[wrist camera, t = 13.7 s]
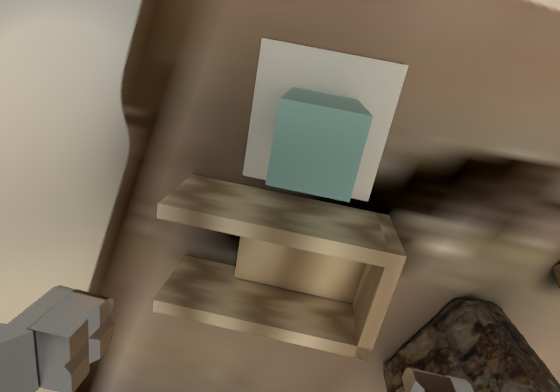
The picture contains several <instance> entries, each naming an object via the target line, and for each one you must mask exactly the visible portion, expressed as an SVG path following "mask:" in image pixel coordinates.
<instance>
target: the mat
mask: <svg viewBox="0 0 560 392" xmlns="http://www.w3.org/2000/svg"><path fill="white" fill-rule="evenodd" d="M408 66H409V65H404V64H399V63H393V62H388V61H383V60H377V59H372V58H367V57H361V56H356V55H351V54H345V53H340V52H335V51H329V50H324V49H319V48H314V47H308V46H303V45H298V44H292V43H287V42H282V41H276V40H271V39H266V38H262V40H261V47H260V54H259V62H258V69H257V76H256V83H255V90H254V97H253V104H252V111H251V118H250V125H249V132H248V140H247V147H246V154H245V161H244V168H243V176H248V177H252V178H257V179H262V180H266V177H267V171H268V165H269V159H270V153H271V147H272V142H273V136H274V130H275V124H276V118H277V112H278V106H279V100H280V97H282V96H283V95H284V94H286V93H287V92H288V91H289V90H291V89H292V88H293V87H296V88H301V89H306V90H312V91H317V92H322V93H327V94H332V95H337V96H342V97H348V98H353V99H358V100H359V102H360V103H361V104H362V105H363V106H364V107H365V108H366V109H367V110H368V111H369V112H370V113H371V114H372V116H373V119H372V122H371V126H370V129H369V133H368V137H367V140H366V144H365V148H364V151H363V155H362V158H361V162H360V166H359V169H358V173H357V177H356V180H355V184H354V187H353V191H352V195H351V198H354V199H358V200H363V201H368V200H369V197H370V193H371V190H372V187H373V183H374V180H375V176H376V173H377V170H378V166H379V163H380V160H381V156H382V153H383V150H384V146H385V143H386V140H387V136H388V133H389V130H390V126H391V123H392V119H393V116H394V113H395V109H396V106H397V103H398V99H399V96H400V93H401V89H402V86H403V83H404V79H405V76H406V73H407V69H408Z"/></svg>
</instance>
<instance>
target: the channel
mask: <svg viewBox="0 0 560 392" xmlns="http://www.w3.org/2000/svg"><path fill="white" fill-rule="evenodd" d="M157 218H159V219H163V220H168V221H172V222H177V223H182V224H186V225H191V226H196V227H200V228H205V229H209V230H214V231H219V232H223V233H228V234H233V235H237V236H240V242H239V248H238V255H237V262H236V266H233V265H228V264H224V263H219V262H215V261H210V260H205V259H201V258H196V257H192V256H187V255H185V257H184V258H183V259H182V261H181V262H180V264H179V265H178V266H177V268H176V269H175V270H174V272H173V273H172V275H171V276H170V277H169V279H168V280H167V282H166V283H165V284H164V286H163V287H162V288H161V290H160V291H159V293H158V294H157V295H156V297H155V298H154V300H153V312H158V313H162V314H166V315H171V316H175V317H180V318H184V319H188V320H193V321H197V322H201V323H206V324H210V325H214V326H219V327H223V328H227V329H232V330H236V331H241V332H245V333H249V334H254V335H258V336H262V337H267V338H271V339H275V340H280V341H284V342H288V343H293V344H297V345H301V346H306V347H310V348H315V349H319V350H323V351H328V352H332V353H336V354H341V355H345V356H349V357H354V358H358V359H362V360H367V361H368V360H369V358H370V355H371V352H372V350H373V347H374V344H375V341H376V339H377V336H378V333H379V331H380V328H381V325H382V323H383V320H384V317H385V314H386V312H387V309H388V306H389V304H390V301H391V298H392V296H393V293H394V290H395V287H396V285H397V282H398V279H399V277H400V274H401V271H402V269H403V266H404V263H405V260H406V258H407V256H406V254H405V251H404V249H403V247H402V244H401V242H400V240H399V237H398V235H397V233H396V230H395V228H394V226H393V223H392V221H391V219H390V216H389V215H386V214H381V213H376V212H371V211H367V210H362V209H357V208H352V207H347V206H343V205H338V204H333V203H328V202H324V201H319V200H314V199H309V198H304V197H300V196H295V195H290V194H285V193H280V192H276V191H271V190H266V189H261V188H257V187H252V186H247V185H242V184H237V183H233V182H228V181H223V180H218V179H213V178H209V177H204V176H199V175H194V174H192V175H190V176H189V177H188V178H187V179H186V180H185V181H183V182H182V183H181V184H180V185H179V186H177V187H176V188H175V189H174V190H173V191H171V192H170V193H169V194H168V195H167V196H165V197H164V198H163V199H162V200H161V201H160V202H158V203H157Z"/></svg>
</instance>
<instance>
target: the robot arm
mask: <svg viewBox="0 0 560 392" xmlns="http://www.w3.org/2000/svg"><path fill="white" fill-rule="evenodd" d="M113 311H114V300H112V299H111V298H108V297H104V296H101V295H97V294H93V293H89V292H85V291H81V290H75V289H72V288H68V287H64V286H56V287H53V288H52V289H51V290H50V291H48V292H47V293H46V294H45V295H43V296H42V297H41V298H39V299H38V300H37V301H36V302H34V303H33V304H32V305H31V306H29V307H28V308H27V309H26V310H24V311H23V312H22V313H21V314H19V315H18V316H17V317H16V318H14V319H13V320H12V321H11V322H9V323H8V324H3V323H0V392H35V391H37V390H38V389H39V387H40V388H44V389H49V390H54V391H59V392H74V391H75V390H76V389H77V387H78V386H79V385H80V384H81V382H82V381H83V380H84V378H85V377H86V376H87V375H88V373H89V364H90V363H92V362H94V361H96V360H98V359H100V358H101V357H102V355H103V354H104V352H105V351H106V350H107V348H108V346H109V344H110V341H111V339H112V336H113V331H114V322H113V321H112V320H111V318H110V317H109V315H110V314H111V313H112V312H113ZM402 381H403V385H404V386H402V387H401V388H399V389H397V390H396V392H474V391H473V388H472V386H471V384H470V383H469V382H468V381H467V380H465V379H460V378H455V377H451V376H445V375H441V374H436V373H432V372H427V371H423V370H418V369H414V368H409V367H408V368H407V369H406V370H405V371H404V373H403V376H402Z"/></svg>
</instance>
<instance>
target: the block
mask: <svg viewBox="0 0 560 392" xmlns="http://www.w3.org/2000/svg"><path fill="white" fill-rule="evenodd" d="M372 119H373V116H372V114H371V113H370V112H369V111H368V110H367V109H366V108H365V107H364V106H363V105H362V104H361V103H360V102H359V100H358V99H353V98H348V97H342V96H337V95H332V94H327V93H322V92H317V91H312V90H306V89H301V88H296V87H293V88H292V89H291V90H289V91H288V92H287V93H286V94H284V95H283V96H282V97H280V100H279V106H278V112H277V118H276V124H275V130H274V136H273V142H272V147H271V153H270V159H269V165H268V171H267V177H266V183H265V185H268V186H273V187H278V188H283V189H288V190H292V191H297V192H302V193H307V194H312V195H316V196H321V197H326V198H331V199H336V200H340V201H345V202H350V198H351V195H352V191H353V187H354V184H355V180H356V177H357V173H358V169H359V166H360V162H361V158H362V155H363V151H364V148H365V144H366V140H367V137H368V133H369V129H370V126H371V122H372Z"/></svg>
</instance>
